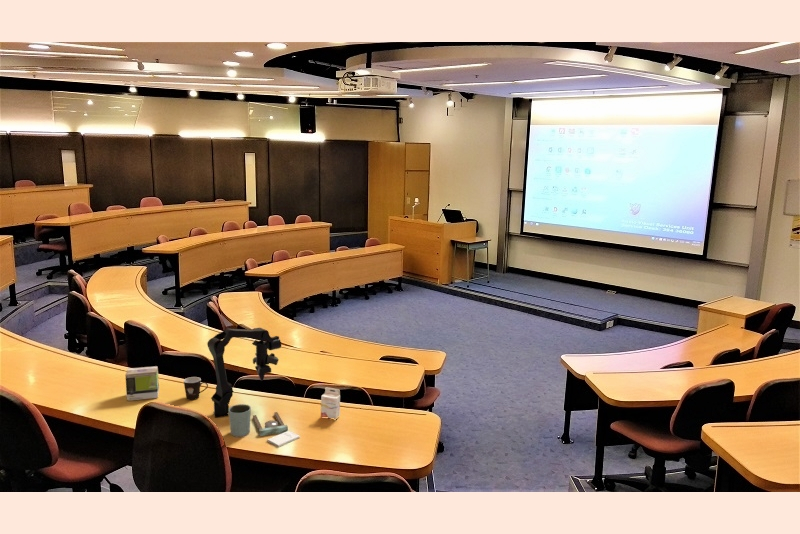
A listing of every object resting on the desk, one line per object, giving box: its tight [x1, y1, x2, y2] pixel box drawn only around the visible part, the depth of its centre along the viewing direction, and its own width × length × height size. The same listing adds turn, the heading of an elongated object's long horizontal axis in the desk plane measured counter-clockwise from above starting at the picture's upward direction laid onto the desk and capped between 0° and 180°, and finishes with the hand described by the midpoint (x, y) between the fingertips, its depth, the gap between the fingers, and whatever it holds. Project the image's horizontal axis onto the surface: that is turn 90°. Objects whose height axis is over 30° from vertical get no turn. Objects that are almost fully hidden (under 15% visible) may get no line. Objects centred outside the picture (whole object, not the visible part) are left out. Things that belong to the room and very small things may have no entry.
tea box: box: [125, 365, 160, 401], centre depth 301 cm, size 15×10×15 cm
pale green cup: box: [228, 403, 252, 438], centre depth 264 cm, size 10×10×12 cm
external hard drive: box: [266, 430, 301, 448], centre depth 260 cm, size 2×8×12 cm
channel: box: [252, 411, 289, 437], centre depth 274 cm, size 13×20×2 cm, turn 25°
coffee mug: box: [183, 376, 209, 401], centre depth 301 cm, size 12×9×10 cm
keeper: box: [264, 420, 279, 428], centre depth 270 cm, size 6×6×3 cm
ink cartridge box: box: [320, 387, 341, 419], centre depth 283 cm, size 9×5×15 cm, turn 74°
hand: (261, 380), depth 298 cm, fingers closed
